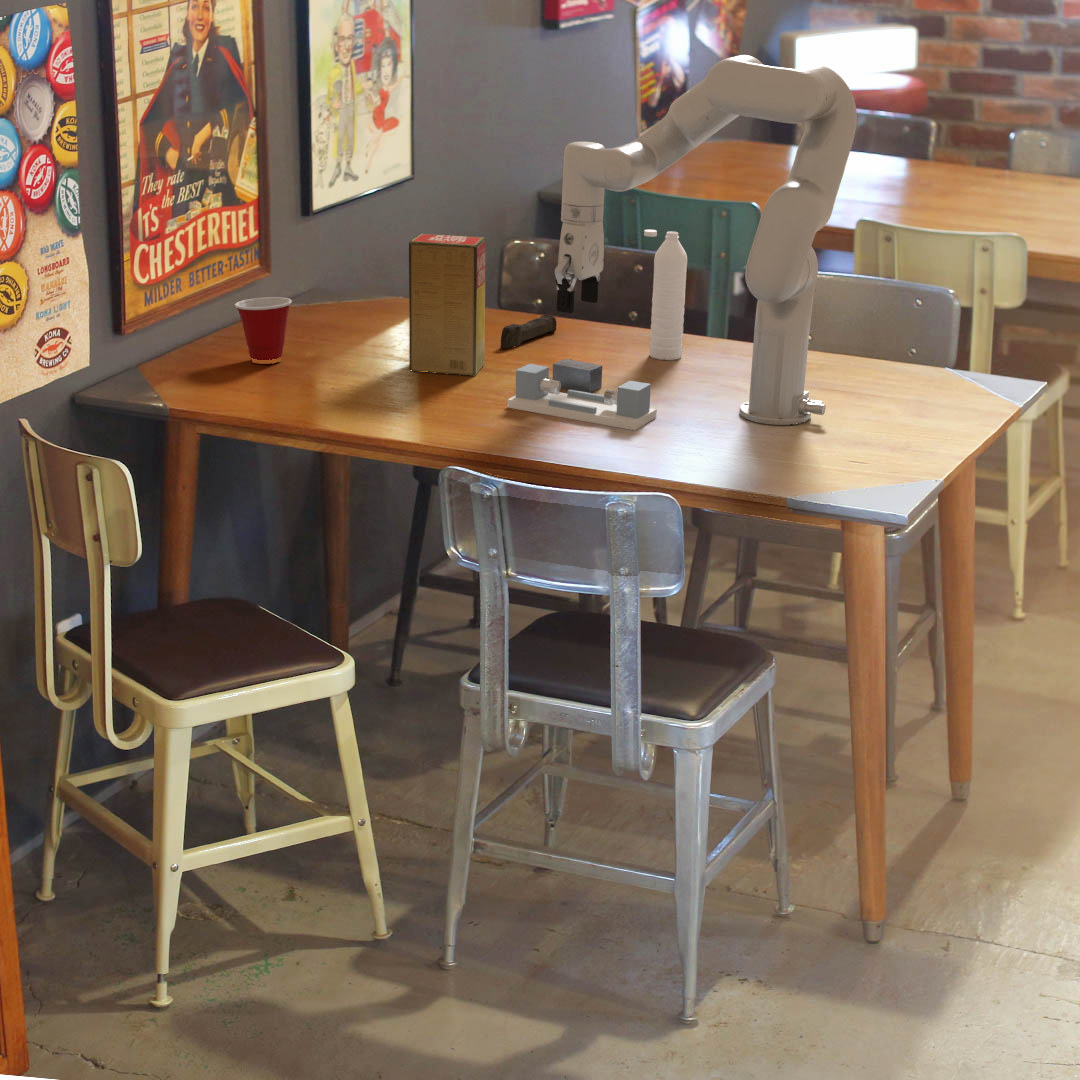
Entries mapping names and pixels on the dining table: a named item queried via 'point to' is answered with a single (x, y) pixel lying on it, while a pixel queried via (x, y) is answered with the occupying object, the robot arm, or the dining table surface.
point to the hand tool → (527, 331)
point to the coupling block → (578, 375)
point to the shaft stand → (582, 400)
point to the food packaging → (447, 304)
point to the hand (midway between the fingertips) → (577, 306)
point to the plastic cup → (264, 325)
